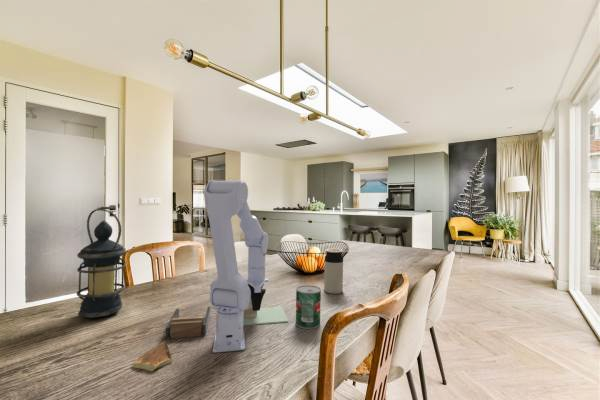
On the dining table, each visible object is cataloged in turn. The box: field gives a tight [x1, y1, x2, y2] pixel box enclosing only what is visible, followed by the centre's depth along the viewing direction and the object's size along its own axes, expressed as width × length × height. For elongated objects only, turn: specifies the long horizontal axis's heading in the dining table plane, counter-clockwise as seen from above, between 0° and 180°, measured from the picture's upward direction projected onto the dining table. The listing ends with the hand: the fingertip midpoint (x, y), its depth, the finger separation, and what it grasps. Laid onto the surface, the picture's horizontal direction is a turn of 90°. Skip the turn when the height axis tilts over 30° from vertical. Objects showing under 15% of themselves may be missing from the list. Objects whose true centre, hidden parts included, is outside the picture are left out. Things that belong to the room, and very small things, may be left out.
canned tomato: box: [295, 284, 322, 330], centre depth 87 cm, size 8×8×11 cm
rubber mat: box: [243, 306, 289, 327], centre depth 92 cm, size 12×20×1 cm, turn 103°
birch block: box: [243, 298, 257, 319], centre depth 91 cm, size 4×8×6 cm, turn 107°
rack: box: [164, 306, 212, 340], centre depth 84 cm, size 14×11×3 cm
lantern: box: [76, 208, 127, 319], centre depth 91 cm, size 14×13×35 cm
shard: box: [131, 339, 173, 372], centre depth 67 cm, size 11×8×2 cm
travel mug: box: [323, 248, 344, 295], centre depth 120 cm, size 8×8×18 cm
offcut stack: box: [170, 315, 204, 339], centre depth 79 cm, size 4×8×4 cm, turn 103°
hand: (255, 307), depth 92 cm, fingers open, 5 cm apart
